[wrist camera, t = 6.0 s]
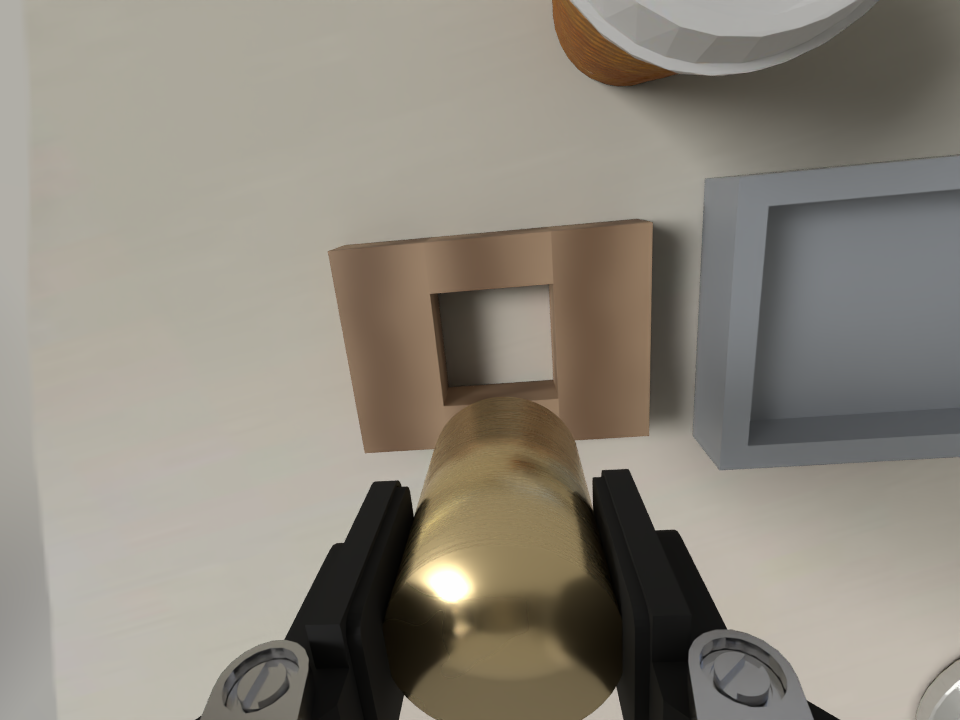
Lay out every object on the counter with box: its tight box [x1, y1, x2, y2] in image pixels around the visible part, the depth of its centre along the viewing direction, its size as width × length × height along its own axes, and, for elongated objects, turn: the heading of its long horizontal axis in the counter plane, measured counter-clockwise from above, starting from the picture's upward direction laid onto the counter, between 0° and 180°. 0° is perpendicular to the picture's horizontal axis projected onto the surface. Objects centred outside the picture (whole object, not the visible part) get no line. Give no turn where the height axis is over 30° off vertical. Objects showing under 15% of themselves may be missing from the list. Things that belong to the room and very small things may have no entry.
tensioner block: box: [328, 219, 653, 453], centre depth 24 cm, size 14×10×2 cm
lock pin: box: [382, 397, 622, 720], centre depth 11 cm, size 4×4×6 cm
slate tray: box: [693, 155, 960, 470], centre depth 23 cm, size 16×13×4 cm
